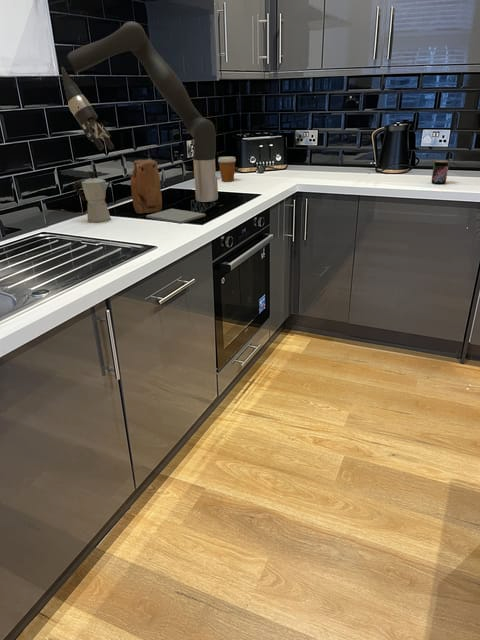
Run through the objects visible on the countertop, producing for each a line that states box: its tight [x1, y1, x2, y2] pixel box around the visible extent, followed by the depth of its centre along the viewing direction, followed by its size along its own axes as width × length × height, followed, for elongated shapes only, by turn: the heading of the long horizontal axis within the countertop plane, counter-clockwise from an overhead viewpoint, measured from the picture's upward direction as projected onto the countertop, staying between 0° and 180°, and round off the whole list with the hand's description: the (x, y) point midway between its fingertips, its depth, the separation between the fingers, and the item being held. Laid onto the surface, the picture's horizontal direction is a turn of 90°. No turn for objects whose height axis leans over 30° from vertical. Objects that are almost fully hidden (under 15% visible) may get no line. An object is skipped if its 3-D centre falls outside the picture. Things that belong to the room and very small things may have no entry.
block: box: [130, 158, 163, 215], centre depth 190 cm, size 11×8×20 cm
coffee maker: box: [73, 170, 112, 224], centre depth 180 cm, size 15×9×18 cm, turn 74°
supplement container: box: [430, 159, 450, 186], centre depth 234 cm, size 7×7×10 cm
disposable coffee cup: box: [217, 156, 237, 183], centre depth 255 cm, size 10×10×12 cm
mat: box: [145, 208, 207, 225], centre depth 186 cm, size 14×18×1 cm
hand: (107, 148), depth 187 cm, fingers open, 8 cm apart
